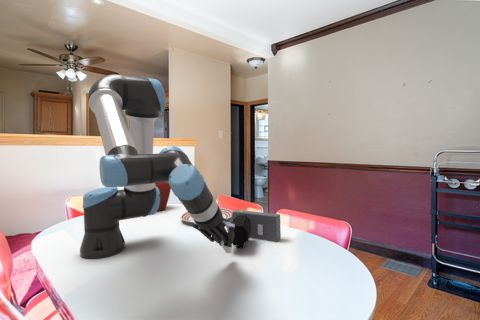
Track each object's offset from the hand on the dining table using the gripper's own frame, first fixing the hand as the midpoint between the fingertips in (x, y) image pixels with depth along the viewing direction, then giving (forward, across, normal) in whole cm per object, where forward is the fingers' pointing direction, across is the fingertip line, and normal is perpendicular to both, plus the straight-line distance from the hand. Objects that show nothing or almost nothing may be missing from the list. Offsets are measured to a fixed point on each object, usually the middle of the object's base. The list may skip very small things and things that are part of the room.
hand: (229, 249), depth 90 cm
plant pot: (+43, -74, +37) cm, 93 cm away
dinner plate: (+36, -30, +29) cm, 55 cm away
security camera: (+14, -1, +8) cm, 16 cm away
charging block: (+21, +2, +15) cm, 26 cm away
